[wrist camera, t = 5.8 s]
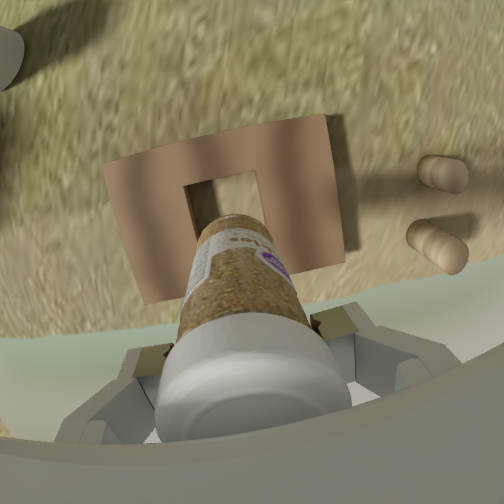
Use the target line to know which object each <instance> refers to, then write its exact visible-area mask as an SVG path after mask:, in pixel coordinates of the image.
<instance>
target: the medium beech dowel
mask: <svg viewBox="0 0 504 504" xmlns="http://www.w3.org/2000/svg"><path fill="white" fill-rule="evenodd" d="M406 240H407V243H408V244H409V246H410V247H412V248H413V249H414V250H416V251H417V252H419V253H420V254H421V255H423V256H424V257H425V258H427V259H428V260H429V261H431V262H432V263H433V264H435V265H436V266H437V267H439V268H440V269H441V270H443V271H444V272H445V273H446V274H448V275H455V274H457V273H459V272H460V271H461V270H462V269H463V268H464V267H465V265H466V263H467V261H468V257H469V250H468V247H467V245H466V244H465V243H464V242H462V241H461V240H459V239H457V238H455V237H454V236H452V235H450V234H448V233H446V232H445V231H443V230H441V229H439V228H437V227H436V226H434V225H432V224H430V223H428V222H426V221H424V220H416V221H414V222H413V223H412V224H411V225H410V226H409V228H408V230H407V233H406Z"/></svg>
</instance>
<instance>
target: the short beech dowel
mask: <svg viewBox="0 0 504 504" xmlns="http://www.w3.org/2000/svg"><path fill="white" fill-rule="evenodd" d="M417 174H418V177H419V179H420V181H421V182H422V183H423V184H425V185H427V186H430V187H434V188H437V189H440V190H443V191H446V192H449V193H451V194H460V193H462V192H463V191H464V190H465V188H466V186H467V184H468V179H469V174H468V169H467V167H466V165H465V164H464V163H463V162H462V161H460V160H456V159H451V158H445V157H439V156H434V155H426V156H424V157H422V158H421V160H420V161H419V163H418V167H417Z"/></svg>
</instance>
